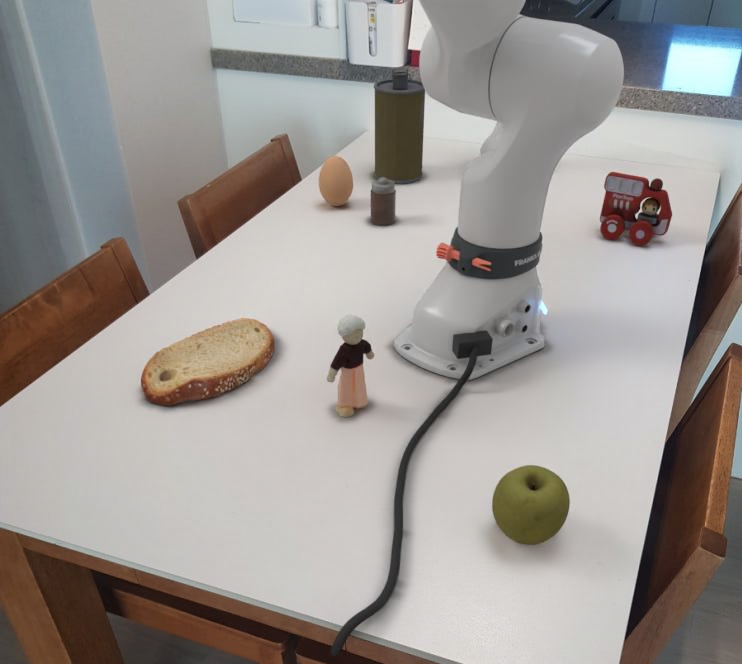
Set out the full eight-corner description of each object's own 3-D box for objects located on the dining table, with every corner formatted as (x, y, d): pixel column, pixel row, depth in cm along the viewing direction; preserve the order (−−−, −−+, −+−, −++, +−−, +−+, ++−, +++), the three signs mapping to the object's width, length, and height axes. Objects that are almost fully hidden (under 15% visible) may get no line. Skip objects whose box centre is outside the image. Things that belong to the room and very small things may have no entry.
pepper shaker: (384, 227, 138) (384, 183, 133) (365, 221, 141) (365, 177, 135) (400, 220, 141) (401, 176, 135) (381, 214, 143) (382, 171, 138)
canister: (423, 184, 155) (428, 76, 142) (373, 184, 155) (373, 76, 142) (421, 166, 163) (425, 62, 150) (374, 166, 163) (373, 62, 150)
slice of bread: (272, 328, 110) (270, 304, 108) (282, 395, 97) (280, 371, 95) (147, 339, 108) (142, 315, 106) (140, 410, 95) (134, 385, 92)
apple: (480, 548, 76) (487, 496, 72) (498, 499, 82) (506, 448, 77) (554, 568, 74) (566, 515, 70) (568, 516, 80) (580, 464, 75)
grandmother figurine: (349, 425, 92) (347, 333, 84) (324, 416, 94) (319, 324, 85) (382, 395, 97) (383, 306, 89) (357, 387, 99) (356, 298, 90)
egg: (313, 208, 145) (311, 159, 139) (329, 197, 150) (327, 148, 144) (344, 213, 143) (342, 164, 137) (359, 202, 148) (358, 153, 142)
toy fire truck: (659, 250, 130) (675, 189, 124) (589, 236, 135) (601, 176, 128) (668, 236, 135) (684, 177, 128) (601, 223, 140) (613, 165, 133)
